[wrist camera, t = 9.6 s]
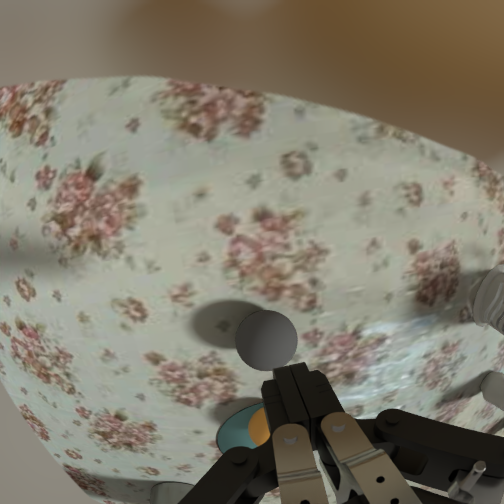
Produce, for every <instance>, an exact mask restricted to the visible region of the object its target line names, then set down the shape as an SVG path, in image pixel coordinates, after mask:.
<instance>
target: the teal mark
mask: <svg viewBox="0 0 504 504" xmlns="http://www.w3.org/2000/svg"><path fill="white" fill-rule="evenodd" d="M263 407H264V406H263V403H259V404H256V405H253V406H250V407H248V408H245V409H243V410H242V411H240V412H238V413H236V414H235V415H233V416H232V417H231V418H229V419H228V420H227V421H226V422H225V423H224V425H223V426H222V427H221V429H220V431H219V434H218V445H219V448H220V450H221V451H222V453H223V454H224V453H225V452H226V451H227V450H228V449H230V448H233V447H237V446H245V447H249V448H251V449H253V448H256V447H258V446H257V445H256V444H254V442H253V441H252V440H251V438H250V436H249V432H248V425H249V421H250V419H251V417H252V416H253V414H254V413H255V412H256V411H257V410H259V409H261V408H263Z"/></svg>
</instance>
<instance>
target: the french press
mask: <svg viewBox="0 0 504 504" xmlns="http://www.w3.org/2000/svg"><path fill="white" fill-rule="evenodd" d="M502 317H503V318H502ZM473 319H474V321H475V323H476V325H478V326H481V327H483V326H486V325H490V326H492V327H493V328H494V329H496V330H497V331H499V332H500V333H502V334H503V335H504V264H502V265H497V266H496V267H494V268H493V269H492V270H491V271H490V272H489V273H488V274H487V276H486V277H485V279H484V280H483V281H482V283H481V286H480V288H479V290H478V292H477V294H476V298H475V302H474V307H473ZM499 321H500V322H499Z"/></svg>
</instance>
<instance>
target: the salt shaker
mask: <svg viewBox="0 0 504 504" xmlns="http://www.w3.org/2000/svg"><path fill="white" fill-rule="evenodd" d="M480 387H481V390H482V394H483V398H484V399H485V400H486V401H488V402H490V403H491V404H493V405H495V406H496V407H498V408H500V409H501V410H503V411H504V374H503V373H499V372H490V373H489V374H488V375H487V376H486V377H485V378H484V380H483V382H482V384H481V386H480Z"/></svg>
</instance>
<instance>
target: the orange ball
mask: <svg viewBox="0 0 504 504" xmlns="http://www.w3.org/2000/svg"><path fill="white" fill-rule="evenodd" d="M248 432H249V436H250V438H251V440H252V441H253V442H254V444H256V445H257V446H260V445H262V444H263V443H265V442H266V441H267V440H268V438H269V436H270V432H269V428H268V424H267V420H266V416H265V412H264V407H263V408H261V409H259V410H257V411H256V412H255V413H254V414H253V416H252V417H251V419H250V421H249V425H248Z"/></svg>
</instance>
